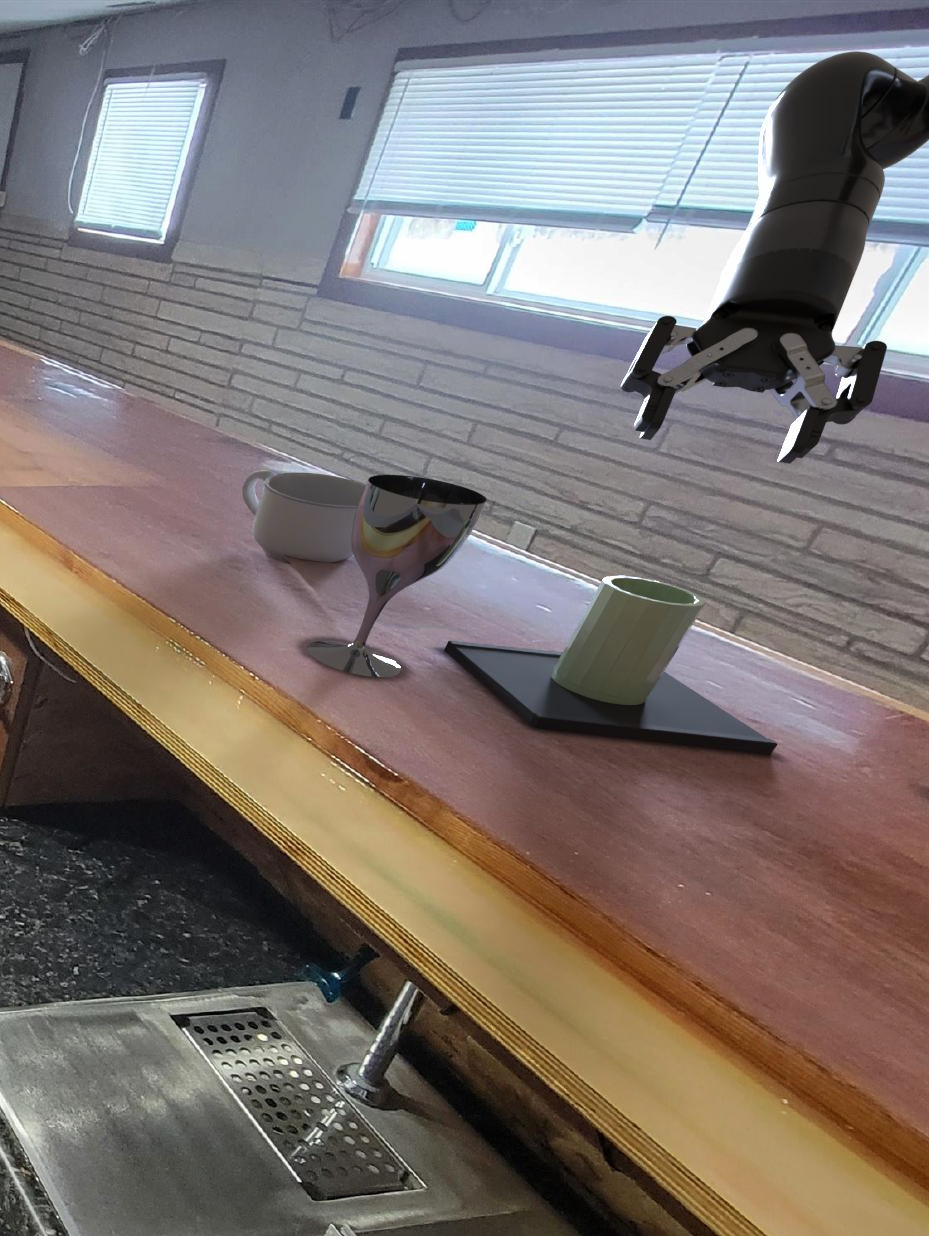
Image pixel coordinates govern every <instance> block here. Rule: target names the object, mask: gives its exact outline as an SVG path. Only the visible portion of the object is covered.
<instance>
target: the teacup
mask: <svg viewBox="0 0 929 1236" xmlns="http://www.w3.org/2000/svg"><path fill="white" fill-rule="evenodd" d="M259 480H262V481H263V489H262V492H261V496H260V499H258V497H257V495H256V491H255V490H256V485H257V483H258V482H259ZM365 485H366V483H362V482H359V481H356V480H353V479H349V478H345V477H341V476H336V475H330V474H324V473H317V472H316V473H313V472H282V473H276V474H275V473H274V472H272V471H270V470H267V469H261V470H257V471H253V472H251V473H250V474H249V475H248V476H247V477H246V478H245V479H244V482H243V484H242V487H241V494H242V499H243V502H244V503H245V505H246V507H247V508H248V510H249V511H250V512H251V514H252V515H253V516H254V518H253V524H252V535H253V539H254V540H255V541H256V543H257V544H258V546H260V547H261V548H262V551H263V552H264V553H265V554H266V555H267V556H268V557H270V558H272V559H274V560H276V561H279V562H282V563H286V564H288V565H292V563H291V562H290V561H289V560H288V558H287V557H289V558H295V559H299V560H304V561H312V562H322V563H324V562H325V563H333V562H342V561H344V560H347V559H349V558H350V557H353V556H354V554H353V551H352V548H351V537H352V529H353V523H354V518H355V514H356V509H357V506H358V504H359V501H360V498H361V495H362V492H363V490H364V487H365Z"/></svg>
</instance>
